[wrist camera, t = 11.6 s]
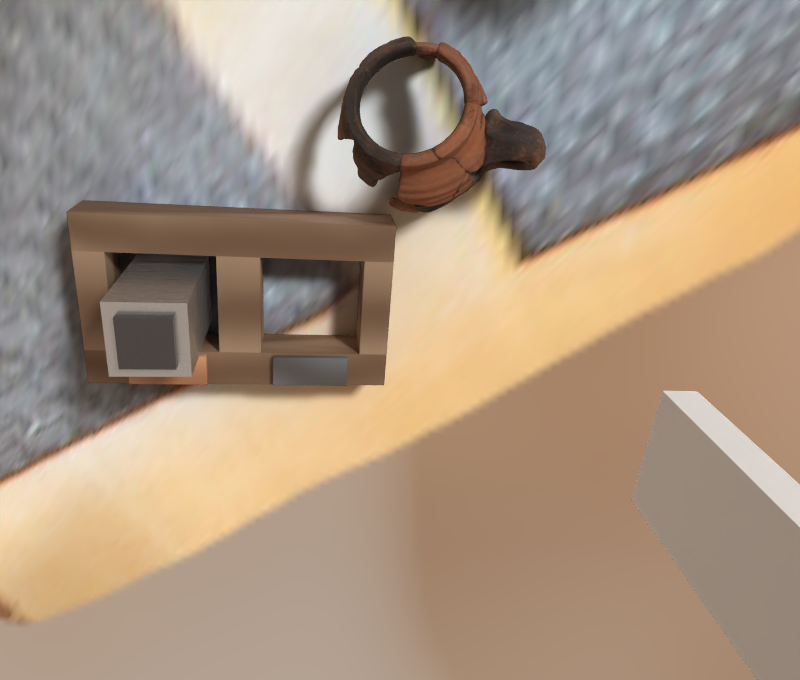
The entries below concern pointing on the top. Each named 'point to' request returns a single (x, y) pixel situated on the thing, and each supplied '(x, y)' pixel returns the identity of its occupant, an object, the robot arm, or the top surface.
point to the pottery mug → (453, 158)
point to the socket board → (241, 286)
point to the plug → (157, 316)
